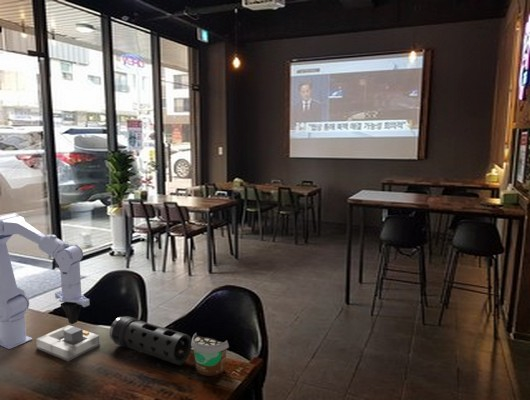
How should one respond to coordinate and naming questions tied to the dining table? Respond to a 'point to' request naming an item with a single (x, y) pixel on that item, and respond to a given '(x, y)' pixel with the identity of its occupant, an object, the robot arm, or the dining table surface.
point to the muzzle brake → (151, 339)
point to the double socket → (66, 344)
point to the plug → (73, 335)
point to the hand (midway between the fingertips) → (73, 322)
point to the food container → (209, 355)
